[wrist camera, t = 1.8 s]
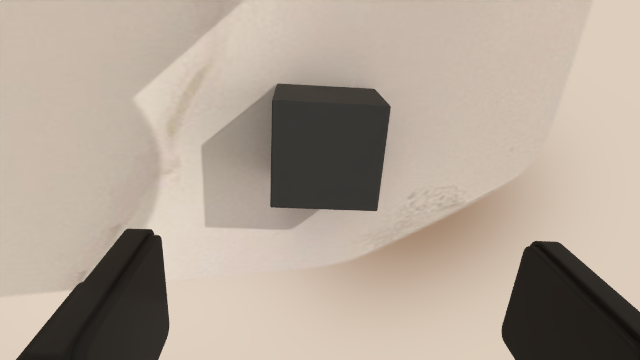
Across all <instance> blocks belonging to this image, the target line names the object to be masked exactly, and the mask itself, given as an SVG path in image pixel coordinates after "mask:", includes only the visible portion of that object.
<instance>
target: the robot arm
mask: <svg viewBox="0 0 640 360" xmlns="http://www.w3.org/2000/svg"><path fill="white" fill-rule="evenodd" d="M168 331H169V315H168V304H167V293H166V282H165V271H164V260H163V249H162V240H161V237H160V236H159V235H154V233H153V231H152V230H151V229H126V230H125V231H124V232H123V234H122V235H121V236H120V237H119V239H118V240H117V241H116V242H115V244H114V245H113V246H112V247H111V248H110V250H109V251H108V252H107V253H106V255H105V256H104V257H103V258H102V260H101V261H100V262H99V263H98V265H97V266H96V267H95V268H94V270H93V271H92V272H91V273H90V274H89V276H88V277H87V278H86V279H85V281H84V282H81V283H79V284H78V285H77V286H76V287H75V288H74V290H73V291H72V292H71V293H70V294H69V296H68V297H67V298H66V299H65V301H64V302H63V303H62V304H61V306H60V307H59V308H58V309H57V310H56V312H55V313H54V314H53V315H52V317H51V318H50V319H49V320H48V321H47V323H46V324H45V325H44V326H43V327H42V329H41V330H40V331H39V332H38V334H37V335H36V336H35V337H34V338H33V340H32V341H31V342H30V343H29V345H28V346H27V347H26V348H25V349H24V351H23V352H22V353H21V354H20V355H19V357H18V358H17V359H16V360H158V359H159V356H160V354H161V351H162V349H163V346H164V344H165V341H166V339H167V336H168ZM502 338H503V341H504V342H505V344H506V346H507V347H508V349H509V351H510V352H511V354H512V355H513V357H514V358H515V360H640V312H639V311H638V310H637V309H636V308H635V307H633V306H632V305H631V304H630V303H629V302H628V301H627V300H625V299H624V298H623V297H622V296H621V295H619V294H618V293H617V292H616V291H615V290H613V288H611V287H610V286H609V285H608V284H607V283H606V282H605V281H603V280H602V279H601V278H600V277H599V276H597V274H595V273H594V272H593V271H592V270H591V269H590V268H588V267H587V266H586V265H585V264H584V263H582V262H581V261H580V260H579V259H578V258H577V257H576V256H575V255H573V254H572V253H571V252H570V251H569V250H568V249H566V248H565V247H564V246H563V245H562V244H560V243H558V242H545V241H544V242H543V241H535V242H533V243H532V244H531V245H530V246H528V247H526V248H525V250H524V252H523V256H522V259H521V262H520V266H519V269H518V273H517V277H516V280H515V283H514V287H513V290H512V294H511V297H510V301H509V304H508V308H507V311H506V315H505V318H504V322H503V325H502Z"/></svg>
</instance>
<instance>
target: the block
mask: <svg viewBox="0 0 640 360" xmlns="http://www.w3.org/2000/svg"><path fill="white" fill-rule="evenodd" d="M390 108H391V107H390V105H389V104H388V103H387V102H386V101H385V100H384V99H383V98H382V97H381V96H380V95H379V93H378V92H377V91H376V90H375V89H364V88H346V87H327V86H309V85H291V84H277V87H276V90H275V94H274V97H273V100H272V146H271V204H270V206H271V207H276V208H305V209H334V210H362V211H377V208H378V200H379V192H380V185H381V177H382V169H383V162H384V154H385V146H386V139H387V131H388V123H389V116H390Z"/></svg>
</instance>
